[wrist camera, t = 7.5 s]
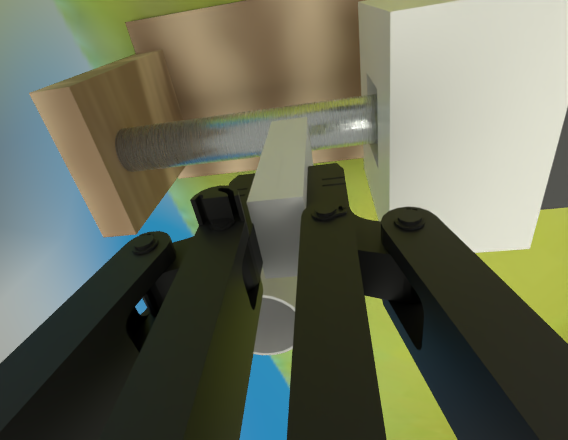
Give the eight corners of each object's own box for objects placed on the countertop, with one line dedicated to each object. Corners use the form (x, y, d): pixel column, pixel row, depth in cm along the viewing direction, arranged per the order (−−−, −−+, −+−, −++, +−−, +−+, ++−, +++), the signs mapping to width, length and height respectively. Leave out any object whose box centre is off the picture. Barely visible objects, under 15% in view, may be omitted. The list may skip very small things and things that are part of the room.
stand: (182, 173, 32) (117, 264, 21) (131, 21, 25) (3, 44, 15) (550, 131, 28) (694, 219, 17) (599, -64, 21) (877, -115, 11)
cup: (306, 284, 38) (305, 357, 31) (214, 281, 39) (190, 351, 31) (308, 229, 34) (307, 296, 27) (205, 225, 35) (176, 290, 27)
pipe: (132, 165, 22) (110, 187, 20) (113, 119, 21) (86, 136, 18) (643, 103, 18) (694, 121, 16) (667, 40, 17) (728, 49, 14)
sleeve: (364, 167, 25) (389, 258, 17) (357, 1, 20) (390, 11, 11) (454, 158, 24) (529, 248, 16) (473, -19, 19) (602, -24, 10)
